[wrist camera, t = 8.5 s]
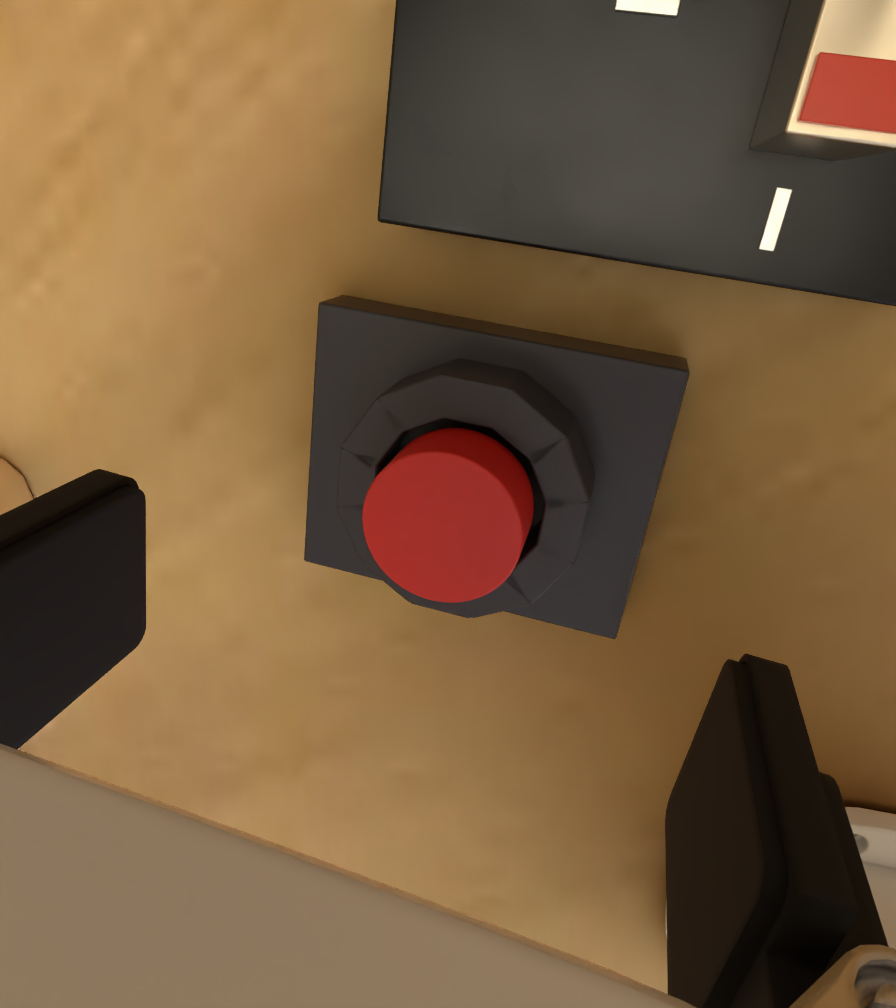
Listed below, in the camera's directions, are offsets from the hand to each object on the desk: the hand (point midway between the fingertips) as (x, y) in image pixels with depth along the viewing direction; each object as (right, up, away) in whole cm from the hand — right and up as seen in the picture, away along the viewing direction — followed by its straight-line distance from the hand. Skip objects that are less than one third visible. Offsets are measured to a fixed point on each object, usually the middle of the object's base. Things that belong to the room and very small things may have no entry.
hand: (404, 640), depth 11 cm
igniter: (+2, +4, +13) cm, 14 cm away
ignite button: (+1, +2, +10) cm, 10 cm away
